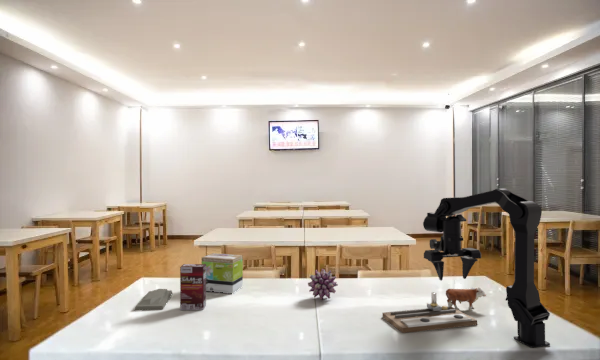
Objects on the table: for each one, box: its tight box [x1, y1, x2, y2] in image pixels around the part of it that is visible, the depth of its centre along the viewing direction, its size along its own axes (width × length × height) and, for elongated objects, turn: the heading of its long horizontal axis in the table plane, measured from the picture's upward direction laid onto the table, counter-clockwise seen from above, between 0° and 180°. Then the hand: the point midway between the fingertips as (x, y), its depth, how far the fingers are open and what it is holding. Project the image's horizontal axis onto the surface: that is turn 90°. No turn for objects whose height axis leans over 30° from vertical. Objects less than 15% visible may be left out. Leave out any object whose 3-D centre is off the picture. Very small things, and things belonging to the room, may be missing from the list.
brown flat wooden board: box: [382, 305, 478, 334], centre depth 125 cm, size 14×26×3 cm, turn 103°
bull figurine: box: [445, 286, 487, 311], centre depth 137 cm, size 4×13×8 cm, turn 78°
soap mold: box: [134, 288, 173, 311], centre depth 149 cm, size 10×20×4 cm, turn 8°
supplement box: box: [179, 263, 207, 311], centre depth 141 cm, size 9×5×16 cm, turn 91°
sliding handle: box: [426, 291, 442, 311], centre depth 129 cm, size 4×3×5 cm
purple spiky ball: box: [307, 268, 339, 300], centre depth 150 cm, size 12×12×12 cm
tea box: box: [201, 252, 244, 294], centre depth 165 cm, size 15×10×15 cm
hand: (452, 279), depth 131 cm, fingers open, 9 cm apart
